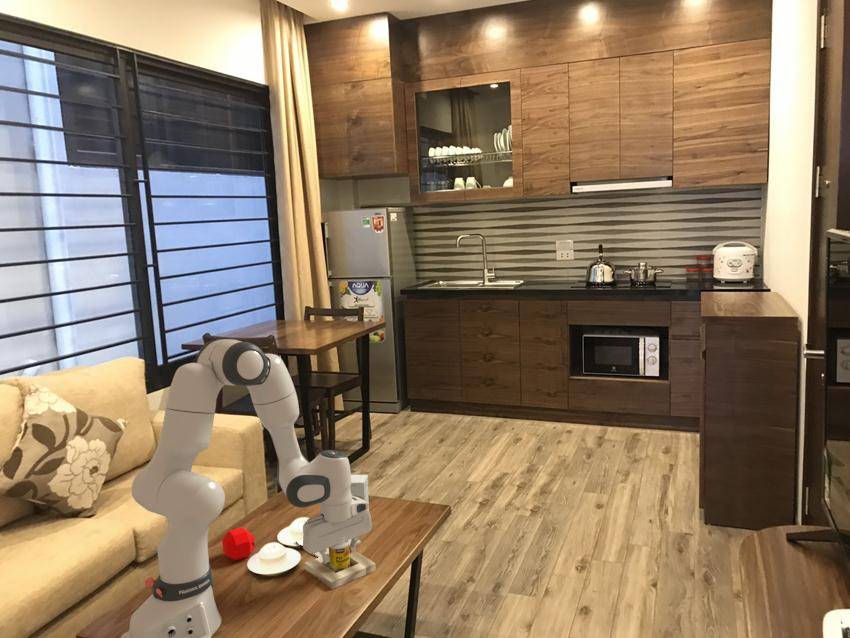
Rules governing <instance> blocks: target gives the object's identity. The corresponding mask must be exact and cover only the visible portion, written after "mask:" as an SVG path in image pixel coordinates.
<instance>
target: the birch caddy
mask: <svg viewBox="0 0 850 638" xmlns="http://www.w3.org/2000/svg"><path fill="white" fill-rule="evenodd" d="M349 554H350V567H349V568H347V569H344V570H342V571H340V572H337V573H334V572H333V571H332V570H330V562H329V563H326V564H325V563H324V562H323V558H322V556H320V557H318V558H317V557H315V558H313V559H310V560H308V561H305V562H304V570H305V571H306V572H308V573H309V574H310V573H311V574H310V575H312V576H313V577H315V578H316V577H317V578H318V579H317V578H316V579H317V580H319V581H320V580H321V581H322V582H321V581H320V582H321V583H323V584H324V583H325V584H326V585H325V584H324V585H325V586H327V587H328V588H329V589H331V590H334V589H336V588H339V587H341V586H343V585H346V584H348V583H350V582H352V581H356V580H357V579H360V578H362V577H363V576H366V575H368V574H371V573H373V572H375V571H377V566H376V563H375V562H374V561H372V560H371V559H369V558H368V557H366V556H364V555H363V554H361V553H360V552H358V551H355V552H353V553H349ZM328 555H329V553H328Z"/></svg>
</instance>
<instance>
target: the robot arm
mask: <svg viewBox="0 0 850 638" xmlns="http://www.w3.org/2000/svg"><path fill="white" fill-rule="evenodd" d="M225 385H226V386H236V387H243V388H244V387H246V388H247V390H248V391H249V394H250V398H251V403H252V404H253V408H254V410H255V412H256V416H257V417H258V419H259V421H260V422H261V424H262V426H263V427H264V428H265V429H266V430H267V431H268V432H269V434H270V437H271V439H272V443H273V447H274V450H275V453H276V456H277V469H276V480H277V481H276V482H277V483H278V485H279V486H280V488H281V490H282V491H283V493H284V495H285V497H286V499H287V500H288V502H289V503H290V504H291V506H294V507H296V508H302V509H304V508H308V507H312V506H316V505H318V504H319V513H320V514H318V515H316V516H313V517H309V518H308V519H306V521H305V522H304V523H303V526H302V532H303V534H302V538H303V547H302V549H303V550H304V551H305V552H307V553H308V554H310V555H313V554H314V553H317V552H319V553H320V554H321V555H322V558H323V562H324V563H325V564H326V563H329V562H330V561H331V560H330V559H331V558H330V556H329V555H328V554H325V552H327V550H326V549H327V548H329V547H332V546H334V545H337V544H339V538H340V537H343V536H345V541H347V540H350V539H352V540H351V543H350V545H349V553H353V552H355V551H356V546H357V545H356V544H357V542H358V540H360V539H359V536H362V535H365V534H368V533H370V531H371V529H372V526H373V525H372V517H371V512H370V503H369V504H368V502H366V501H365V500H363V499H361V498H358V497H356V496H352V494H351V491H350V486H351V475H352V473H351V465H350V460H349V458H348V457H347V456H346V454H345V453H343V452H341V451H339V450H335V449H326V450H322V451H321V452H319V453H318V455H317V456H316V457H315V458H314V459H312V460H311V461H309V460H308V459H307V458H306V457H305V455H303V454H302V451H301V449H300V445H299V442H298V438H297V434H296V432H295V423H296V421H297V420H298V418H299V416H300V408H299V407H300V406H299V400H298V399H299V398H298V395H297V391H296V388H295V386H294V382H293V380H292V377H291V375H290V373H289V370H288V368H287V367H286V364H285V362H284V360H283V359H282V358H281V356H279V355H277V354H275V353H274V354H273V353H264V352H263V350H262V349H261V348H260V347H259V346H257V345H256V344H255V343H254V344H253V343H251V342H249V341H241V340H238V339H233V338H226V339H225V338H224V339H223V338H217V339H213V340H210V341H208V342H206V343H205V344H203V345H202V347H201V348H200V349H199V351H198V352H197V354H196V356H195V357H194V359H193V360H192V362H189V363H185V364H183V365H181V366H179V367H178V368H177V369H176V371H175V373H174V375H173V378H172V381H171V384H170V387H169V391H168V394H167V395H168V396H167V400H166V404H165V409H164V410H165V411H164V417H163V422H162V427H161V433H160V437H159V442H158V443H157V447H156V449H155V451H154V454H153V456H152V457H151V459H150V461H149V462H148V463H147V465H146V466H145V467H144V468H142V469H141V470H140V471H139V472H137V474H136V475H135V477H134V479H133V481H132V484H131V496H132V498H133V500H134V502H136V503H137V504H138V505H139V506H141V507H142V508H143V509H145V510H146V511H148V512H150V513H153V514H156V515H160V516H161V517H162V516H163V517H165V519H166V520H167V523H168V524H167V525H168V527H167V533H166V534H165V535H164V536H163V537H161V539H160V540H159V541H158V543H157V547H156V549H157V559H158V568H159V569H158V570H159V575H158V577H157V578H156V580H155V579H154V578H153V577H151V576H149V577H147V578H146V579H145V580H144V581H145V582H144V584H145V585H146V587H147V588H148V589H152V594H151V595H150V596H149V597H148V598H147V599H146V600H145V601H144V602H143V603H142V604H141V605H140V606H139V607H138V608H137V609H136V610H135V611H134V612H133V613H132V615H131V617H130V621H129V630H128V631H126V632H124V633H123V634H121V636H120V638H212V636H213V635H214V633H216V632H217V630H218V629H220V626H221V624H222V616H221V614H220V613H219V610H218V607H217V604H216V601H215V596H214V591H213V588H214V577H213V576H214V575H213V570H212V566H211V564H210V561H209V559H210V558H209V540H208V538H209V537H208V536H209V531H210V527H211V524H212V523H213V522H214V521H215V520H216V519H217V518H218V517H219V516H220V515H221V512H223V509H224V507H225V502H226V495H225V490H224V489H223V487H222V485H221V484H219V483H218V482H216V481H215V480H213V479H212V478H210V477H209V476H207V475H204V474H201V473H196V472H192V468H193V465H194V463H195V461H196V459H197V457H198V456H199V454H201V453H203V452H204V451H205V450H207V449H208V447H210V444H211V440H212V434H213V433H212V432H213V428H214V420H215V413H216V407H217V399H218V395H219V394H220V391H221V389H222V388H223V387H224V386H225ZM368 508H369V510H368ZM356 552H357V551H356Z"/></svg>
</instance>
